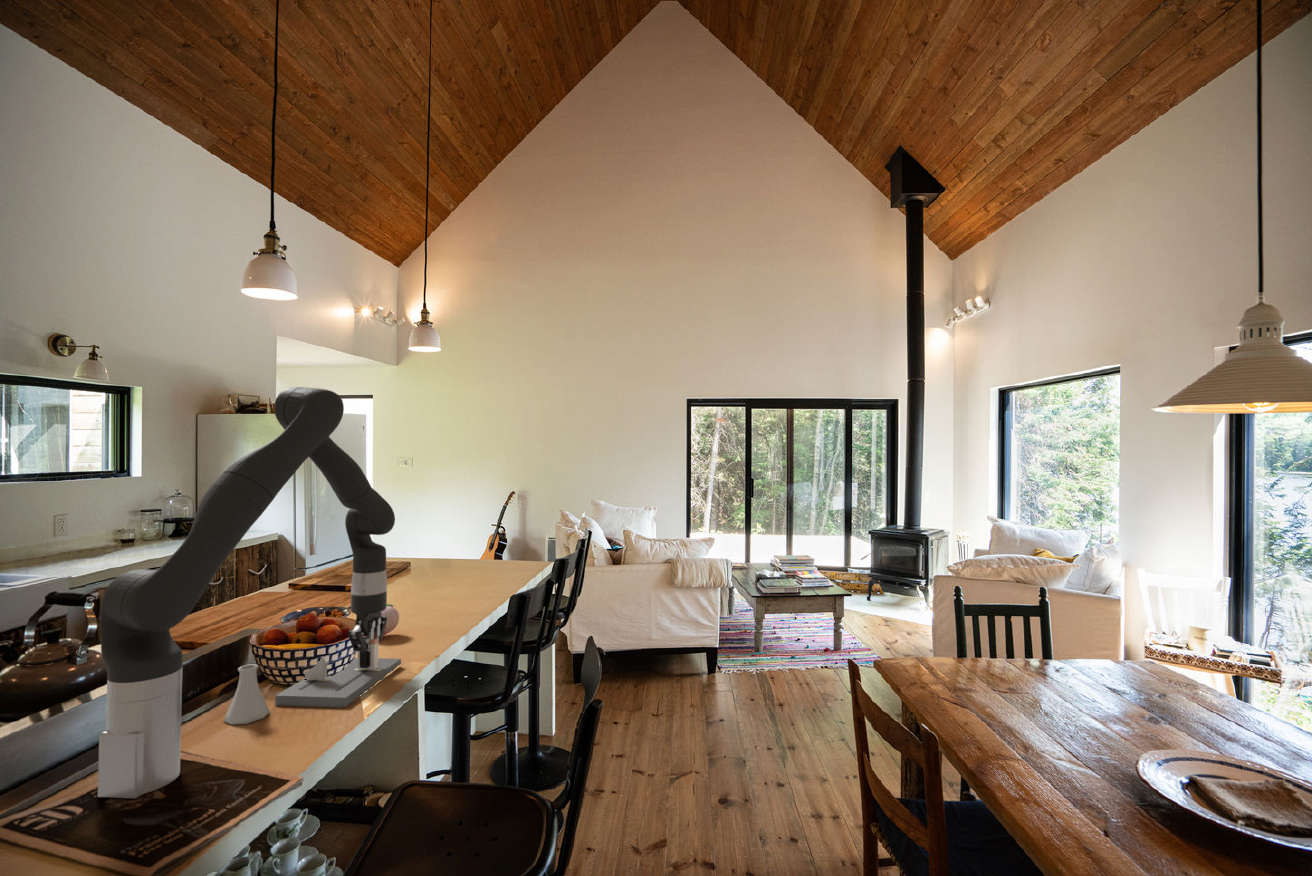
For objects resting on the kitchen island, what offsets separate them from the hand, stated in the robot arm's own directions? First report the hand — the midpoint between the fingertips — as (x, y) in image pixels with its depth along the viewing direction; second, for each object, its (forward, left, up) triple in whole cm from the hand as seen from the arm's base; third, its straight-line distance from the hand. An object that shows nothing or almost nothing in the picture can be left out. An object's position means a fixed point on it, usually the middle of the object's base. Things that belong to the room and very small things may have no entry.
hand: (367, 665), depth 142 cm
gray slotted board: (-4, +3, -3) cm, 6 cm away
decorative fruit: (+31, +12, -3) cm, 34 cm away
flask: (-22, +12, -3) cm, 26 cm away
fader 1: (-7, +8, -1) cm, 11 cm away
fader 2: (0, 0, -1) cm, 1 cm away
